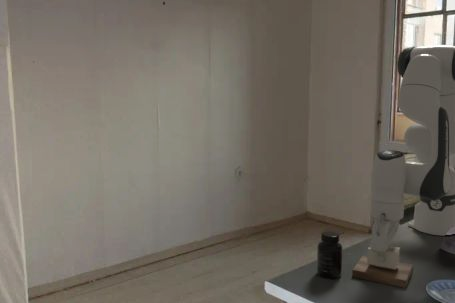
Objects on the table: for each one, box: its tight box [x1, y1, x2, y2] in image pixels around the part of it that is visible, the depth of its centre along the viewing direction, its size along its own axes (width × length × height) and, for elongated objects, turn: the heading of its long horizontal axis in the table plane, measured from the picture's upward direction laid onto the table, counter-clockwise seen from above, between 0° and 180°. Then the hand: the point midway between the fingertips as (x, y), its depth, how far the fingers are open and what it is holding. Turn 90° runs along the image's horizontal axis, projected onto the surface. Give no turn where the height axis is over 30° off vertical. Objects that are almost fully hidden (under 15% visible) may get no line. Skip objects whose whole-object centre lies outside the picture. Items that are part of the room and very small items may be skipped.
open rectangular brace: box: [367, 243, 401, 269], centre depth 127 cm, size 8×5×5 cm
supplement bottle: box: [316, 230, 343, 280], centre depth 127 cm, size 7×7×12 cm
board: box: [352, 255, 414, 289], centre depth 128 cm, size 12×14×2 cm
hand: (383, 257), depth 127 cm, fingers closed on open rectangular brace, 5 cm apart
